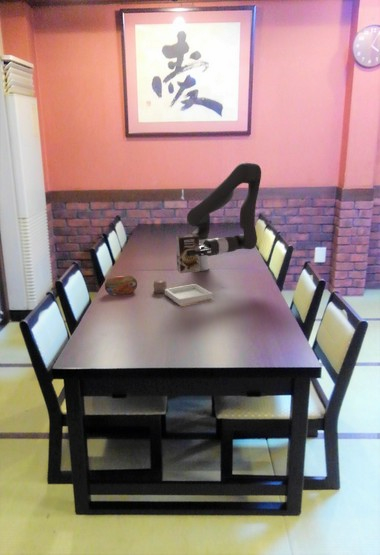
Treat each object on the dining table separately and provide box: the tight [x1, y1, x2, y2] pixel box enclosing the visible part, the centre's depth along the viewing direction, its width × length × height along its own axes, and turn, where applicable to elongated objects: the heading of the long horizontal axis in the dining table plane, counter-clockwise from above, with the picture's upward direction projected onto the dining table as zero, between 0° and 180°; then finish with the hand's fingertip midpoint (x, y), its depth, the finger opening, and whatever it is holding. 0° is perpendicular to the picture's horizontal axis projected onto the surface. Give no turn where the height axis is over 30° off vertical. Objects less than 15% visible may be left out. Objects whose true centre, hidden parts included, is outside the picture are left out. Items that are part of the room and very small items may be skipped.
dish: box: [164, 283, 213, 306], centre depth 213 cm, size 16×16×3 cm
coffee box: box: [175, 233, 200, 274], centre depth 207 cm, size 9×6×16 cm
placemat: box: [179, 298, 213, 307], centre depth 214 cm, size 18×15×1 cm
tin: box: [104, 274, 138, 296], centre depth 221 cm, size 15×3×8 cm, turn 105°
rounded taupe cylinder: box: [153, 279, 167, 294], centre depth 222 cm, size 6×6×5 cm
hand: (183, 251), depth 206 cm, fingers closed on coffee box, 7 cm apart
